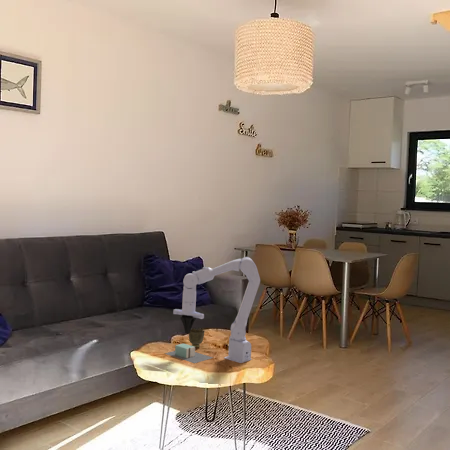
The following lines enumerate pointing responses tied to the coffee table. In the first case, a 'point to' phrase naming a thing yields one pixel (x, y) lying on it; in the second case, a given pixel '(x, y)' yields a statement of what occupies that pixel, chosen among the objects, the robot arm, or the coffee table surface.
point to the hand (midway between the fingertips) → (187, 332)
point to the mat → (194, 359)
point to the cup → (196, 337)
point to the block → (184, 350)
